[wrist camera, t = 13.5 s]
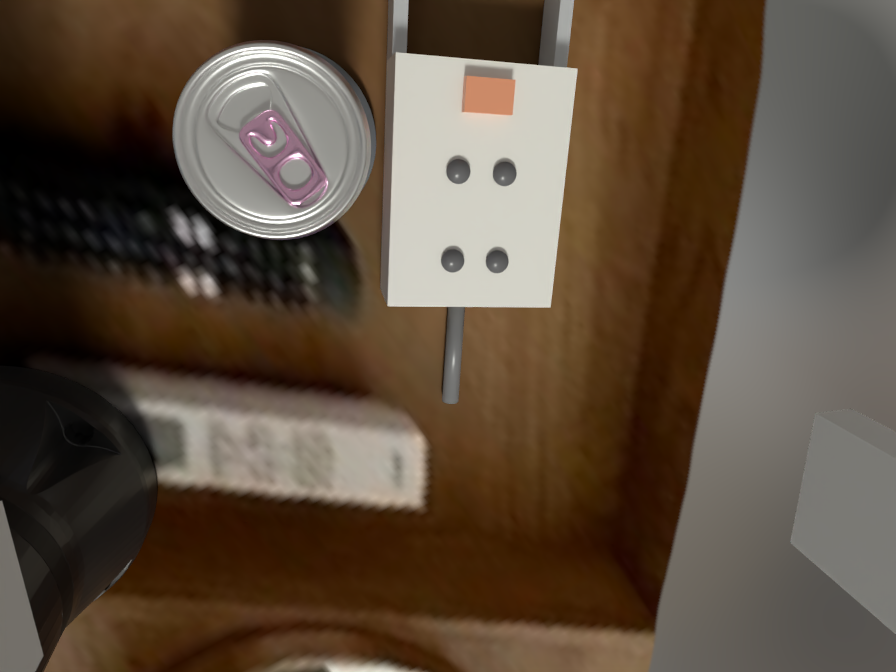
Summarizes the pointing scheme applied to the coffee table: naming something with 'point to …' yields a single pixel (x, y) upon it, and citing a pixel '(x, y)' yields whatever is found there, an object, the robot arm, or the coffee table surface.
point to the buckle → (474, 177)
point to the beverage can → (271, 139)
